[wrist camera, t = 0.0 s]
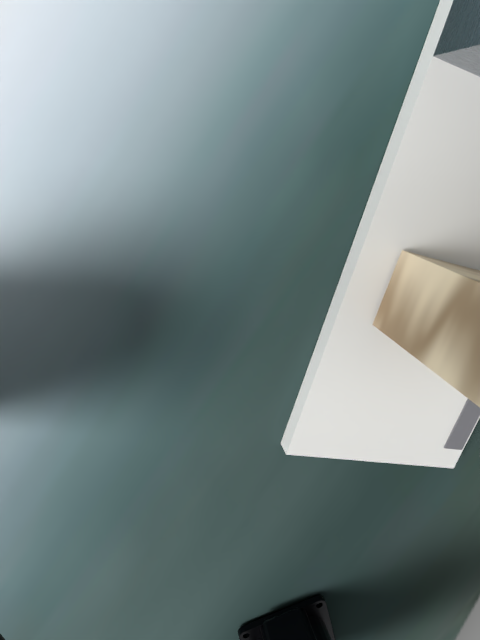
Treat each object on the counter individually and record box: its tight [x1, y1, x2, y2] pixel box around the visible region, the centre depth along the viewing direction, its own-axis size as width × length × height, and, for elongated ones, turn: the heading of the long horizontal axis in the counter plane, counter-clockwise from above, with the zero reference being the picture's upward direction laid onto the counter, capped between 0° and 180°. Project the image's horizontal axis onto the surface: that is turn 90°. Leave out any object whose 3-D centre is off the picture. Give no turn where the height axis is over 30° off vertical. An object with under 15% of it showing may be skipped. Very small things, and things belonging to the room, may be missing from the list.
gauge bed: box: [281, 0, 480, 468], centre depth 24 cm, size 23×12×1 cm, turn 164°
